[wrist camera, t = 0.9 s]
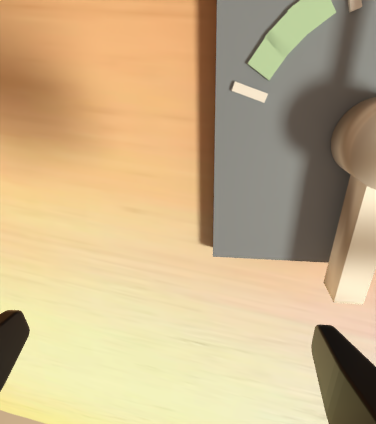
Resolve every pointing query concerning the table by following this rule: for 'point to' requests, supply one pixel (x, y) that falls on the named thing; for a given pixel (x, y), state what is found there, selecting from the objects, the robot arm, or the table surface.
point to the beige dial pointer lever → (355, 206)
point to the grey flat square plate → (285, 121)
